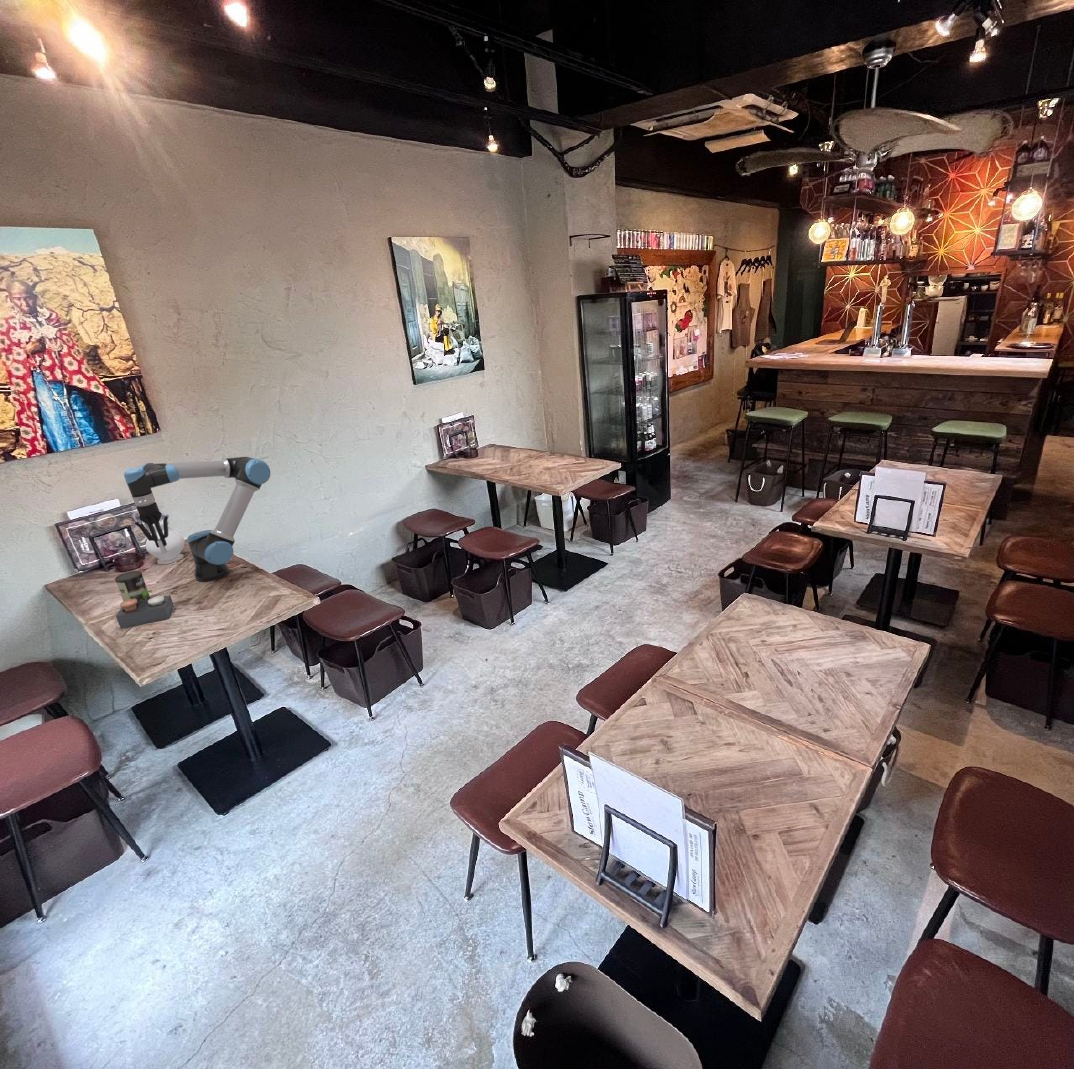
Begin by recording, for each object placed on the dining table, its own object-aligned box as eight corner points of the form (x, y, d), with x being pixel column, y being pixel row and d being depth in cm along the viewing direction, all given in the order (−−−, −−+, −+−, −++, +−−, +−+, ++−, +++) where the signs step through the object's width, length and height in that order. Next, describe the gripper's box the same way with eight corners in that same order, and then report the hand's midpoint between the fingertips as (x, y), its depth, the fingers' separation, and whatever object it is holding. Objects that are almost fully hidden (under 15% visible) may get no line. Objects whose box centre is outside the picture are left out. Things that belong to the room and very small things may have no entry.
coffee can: (155, 596, 271) (145, 569, 266) (145, 606, 262) (134, 578, 256) (131, 599, 270) (121, 572, 265) (120, 609, 260) (109, 581, 255)
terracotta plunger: (143, 611, 253) (138, 597, 250) (139, 617, 247) (134, 603, 245) (127, 614, 251) (122, 600, 248) (123, 620, 246) (118, 606, 243)
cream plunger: (169, 608, 256) (165, 594, 254) (166, 614, 251) (162, 600, 249) (154, 611, 254) (149, 597, 252) (151, 617, 249) (146, 603, 247)
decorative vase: (193, 557, 314) (180, 514, 305) (157, 569, 302) (141, 524, 293) (183, 550, 326) (169, 508, 316) (147, 560, 314) (132, 517, 305)
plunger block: (174, 606, 260) (170, 594, 257) (168, 618, 249) (164, 606, 247) (128, 616, 254) (123, 604, 252) (120, 628, 244) (115, 616, 241)
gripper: (126, 509, 244) (146, 559, 253) (161, 503, 248) (179, 552, 258) (130, 504, 251) (150, 553, 260) (164, 498, 255) (182, 546, 264)
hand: (164, 552), depth 259 cm, fingers closed
